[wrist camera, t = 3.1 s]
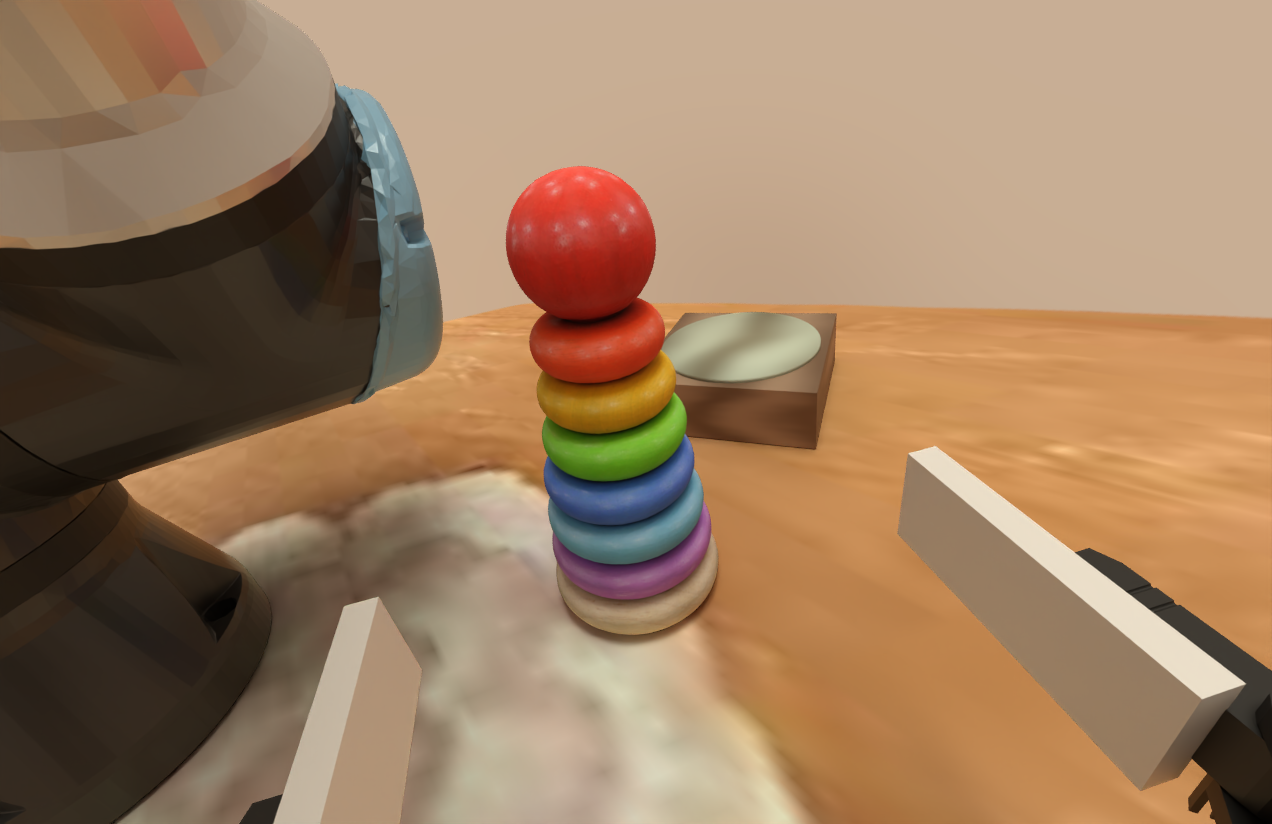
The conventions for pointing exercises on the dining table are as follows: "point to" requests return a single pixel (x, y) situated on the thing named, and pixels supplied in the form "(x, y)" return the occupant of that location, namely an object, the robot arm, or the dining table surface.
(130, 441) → the robot arm
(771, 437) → the walnut plinth
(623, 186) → the stacking toy
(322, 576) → the dining table surface
